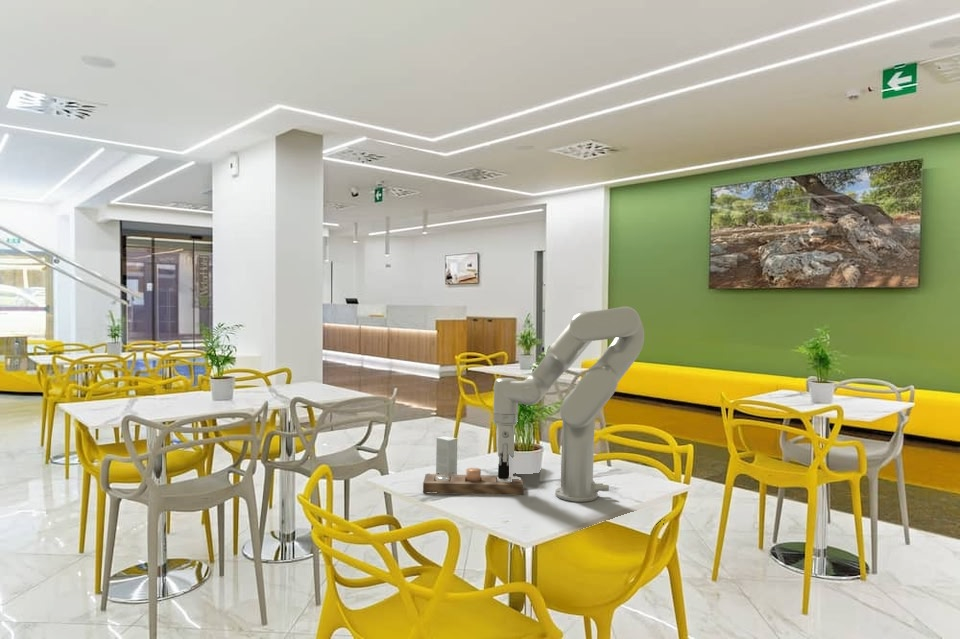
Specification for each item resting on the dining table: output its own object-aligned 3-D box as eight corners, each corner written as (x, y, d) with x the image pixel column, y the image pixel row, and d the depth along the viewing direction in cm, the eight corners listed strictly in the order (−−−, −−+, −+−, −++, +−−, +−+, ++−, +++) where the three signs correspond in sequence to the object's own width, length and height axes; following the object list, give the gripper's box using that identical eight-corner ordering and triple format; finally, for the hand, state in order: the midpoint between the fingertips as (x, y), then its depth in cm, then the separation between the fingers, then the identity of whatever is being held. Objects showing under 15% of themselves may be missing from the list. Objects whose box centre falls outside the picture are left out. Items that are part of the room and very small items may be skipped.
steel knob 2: (510, 486, 201) (511, 476, 201) (511, 491, 197) (511, 480, 196) (496, 486, 201) (496, 475, 201) (497, 490, 196) (497, 479, 196)
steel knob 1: (449, 486, 201) (449, 475, 201) (449, 490, 196) (449, 479, 196) (435, 486, 201) (435, 475, 201) (434, 490, 196) (434, 479, 196)
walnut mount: (520, 485, 204) (521, 475, 204) (523, 494, 194) (523, 484, 194) (425, 483, 204) (425, 474, 203) (423, 492, 194) (423, 483, 193)
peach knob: (480, 478, 201) (480, 467, 201) (480, 482, 196) (480, 471, 196) (466, 478, 201) (466, 467, 201) (466, 482, 196) (466, 471, 196)
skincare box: (457, 474, 215) (458, 438, 215) (448, 476, 212) (449, 440, 212) (444, 470, 219) (444, 435, 219) (435, 473, 216) (436, 437, 216)
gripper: (519, 423, 191) (517, 485, 191) (516, 414, 206) (514, 471, 206) (493, 422, 191) (491, 484, 191) (492, 413, 206) (490, 470, 206)
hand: (503, 477), depth 199 cm, fingers closed
